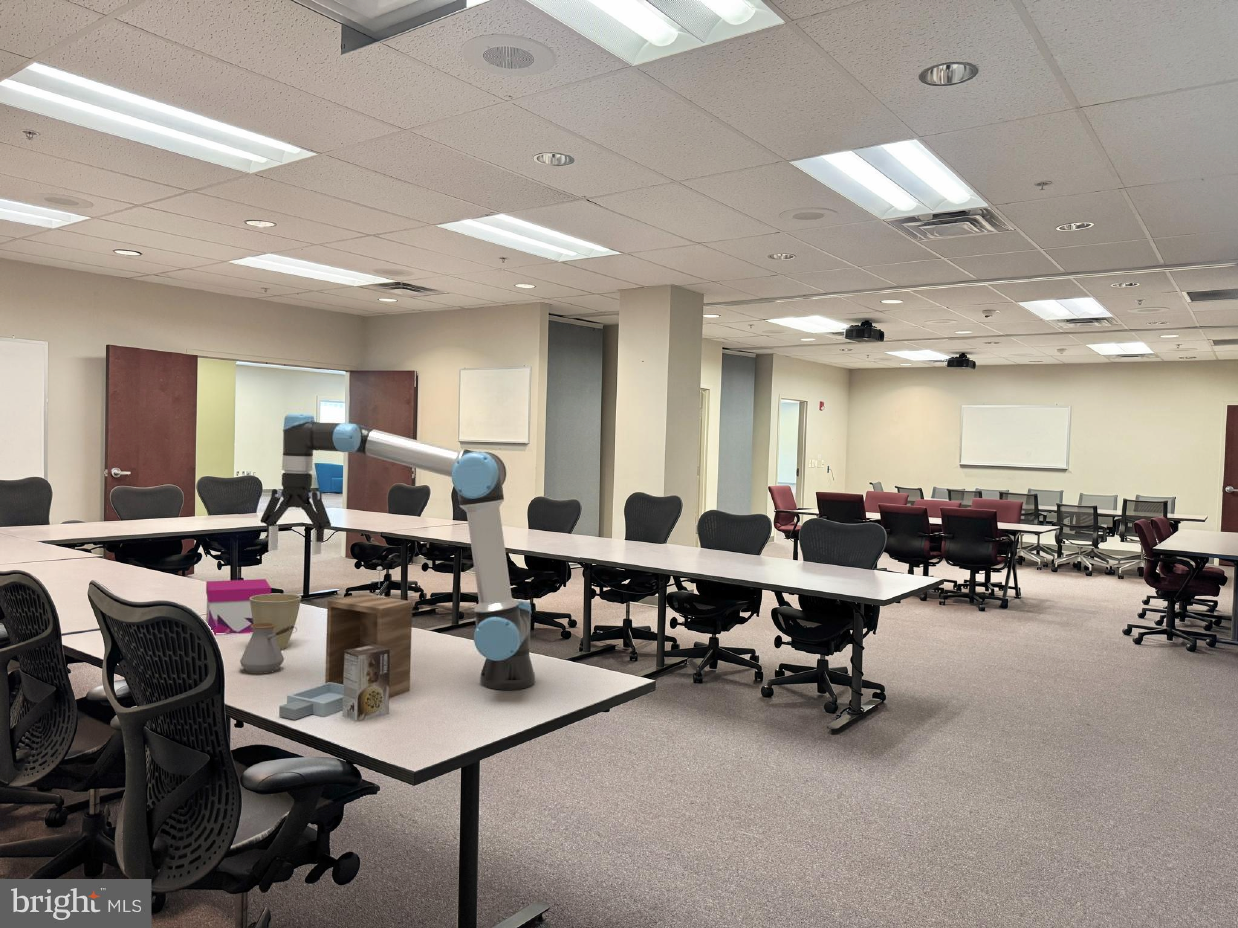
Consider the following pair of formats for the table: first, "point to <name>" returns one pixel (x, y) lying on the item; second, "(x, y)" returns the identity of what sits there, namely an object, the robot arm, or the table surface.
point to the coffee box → (366, 682)
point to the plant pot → (276, 613)
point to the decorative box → (232, 604)
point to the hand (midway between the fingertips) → (294, 552)
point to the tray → (314, 701)
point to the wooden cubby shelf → (370, 635)
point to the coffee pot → (263, 649)
